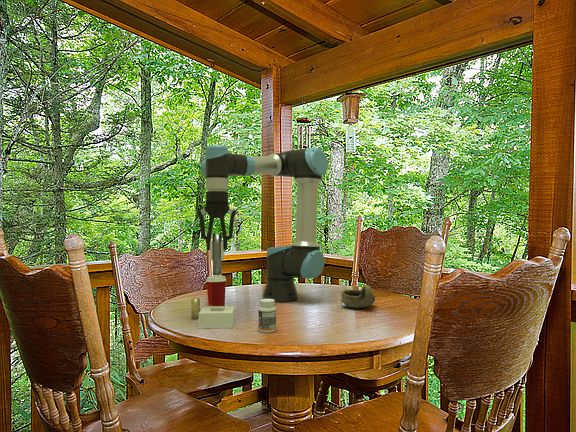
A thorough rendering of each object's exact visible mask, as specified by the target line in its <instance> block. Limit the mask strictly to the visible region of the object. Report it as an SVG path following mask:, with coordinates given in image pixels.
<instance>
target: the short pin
mask: <svg viewBox="0 0 576 432" xmlns="http://www.w3.org/2000/svg"><path fill="white" fill-rule="evenodd" d="M190 307H191V308H190V310H191V311H190V313H191V314H190V315H191V316H190V318H191V320H199V312H200V311H201V298H195V297H193V298H191V302H190Z"/></svg>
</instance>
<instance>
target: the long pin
mask: <svg viewBox="0 0 576 432" xmlns="http://www.w3.org/2000/svg"><path fill="white" fill-rule="evenodd" d="M212 241H213V260H212V276H223V275H222V274H223V273H222V266H223V263H222V262H223V260H221V241H223V236H222V232H219V233H213V232H212Z"/></svg>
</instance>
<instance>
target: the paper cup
mask: <svg viewBox="0 0 576 432" xmlns="http://www.w3.org/2000/svg"><path fill="white" fill-rule="evenodd" d="M226 281H227V279H226V276H225V275H210V276H207V278H206V280H205V282H206V289H207V303H208V305H207V306H226V305H225V304H226V286H227V285H226V284H227V282H226Z"/></svg>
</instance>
